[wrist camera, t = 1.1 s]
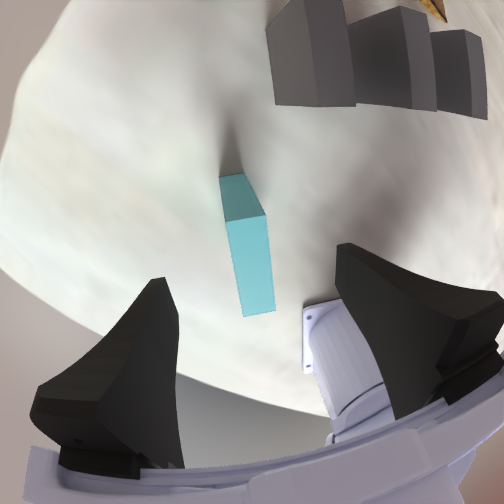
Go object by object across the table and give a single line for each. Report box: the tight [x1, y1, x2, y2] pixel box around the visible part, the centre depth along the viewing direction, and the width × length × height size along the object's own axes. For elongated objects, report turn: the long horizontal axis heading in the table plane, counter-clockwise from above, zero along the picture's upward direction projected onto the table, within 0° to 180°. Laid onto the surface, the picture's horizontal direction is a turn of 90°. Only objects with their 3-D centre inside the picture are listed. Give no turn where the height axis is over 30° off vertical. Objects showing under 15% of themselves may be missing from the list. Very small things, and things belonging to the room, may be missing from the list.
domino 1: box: [219, 173, 276, 317], centre depth 15 cm, size 2×5×7 cm, turn 7°
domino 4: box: [430, 29, 487, 120], centre depth 12 cm, size 2×5×7 cm, turn 7°
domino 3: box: [347, 6, 437, 112], centre depth 11 cm, size 2×5×7 cm, turn 7°
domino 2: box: [266, 0, 356, 107], centre depth 11 cm, size 2×5×7 cm, turn 7°
